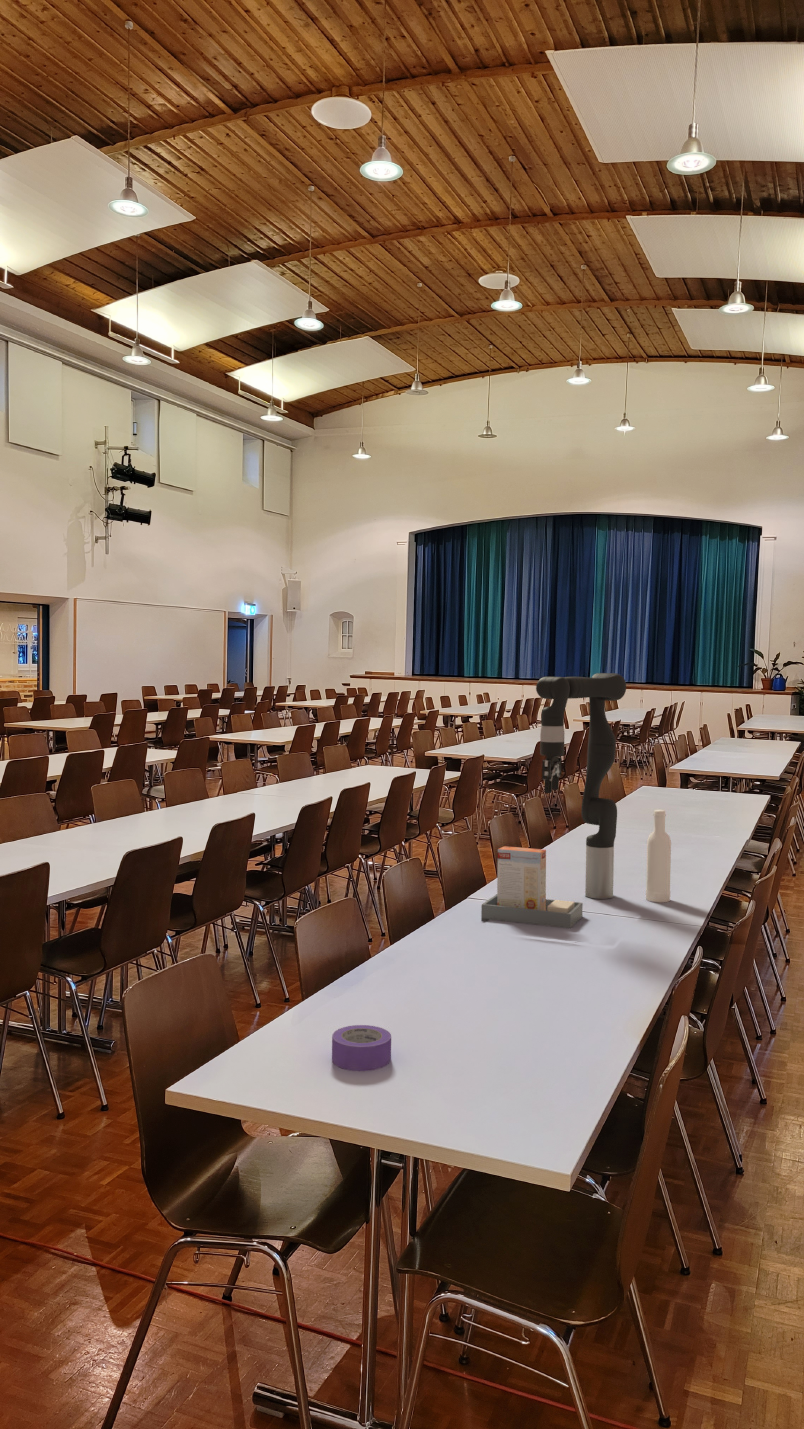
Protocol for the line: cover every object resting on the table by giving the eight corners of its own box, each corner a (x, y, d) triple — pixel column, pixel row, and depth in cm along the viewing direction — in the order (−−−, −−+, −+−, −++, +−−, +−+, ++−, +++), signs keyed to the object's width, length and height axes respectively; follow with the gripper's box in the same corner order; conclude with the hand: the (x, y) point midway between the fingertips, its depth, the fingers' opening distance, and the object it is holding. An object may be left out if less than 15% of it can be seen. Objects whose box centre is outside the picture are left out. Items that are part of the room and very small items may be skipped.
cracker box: (546, 916, 308) (547, 849, 307) (540, 921, 303) (540, 852, 302) (503, 911, 314) (503, 845, 313) (496, 915, 309) (497, 848, 308)
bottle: (668, 897, 337) (670, 808, 336) (672, 903, 330) (674, 812, 328) (644, 896, 338) (645, 808, 337) (647, 902, 330) (649, 811, 329)
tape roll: (390, 1048, 206) (390, 1024, 205) (391, 1071, 194) (392, 1046, 194) (332, 1048, 205) (332, 1024, 205) (330, 1072, 193) (330, 1046, 193)
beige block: (555, 915, 309) (555, 899, 309) (574, 918, 307) (574, 901, 306) (547, 922, 301) (547, 906, 300) (566, 925, 298) (567, 908, 298)
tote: (496, 909, 320) (496, 894, 319) (582, 918, 309) (582, 902, 308) (481, 920, 306) (481, 904, 306) (570, 930, 295) (570, 914, 295)
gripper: (558, 742, 308) (557, 794, 309) (569, 739, 321) (568, 789, 322) (534, 741, 311) (533, 793, 312) (546, 738, 324) (546, 788, 325)
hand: (551, 791), depth 317 cm, fingers open, 8 cm apart
